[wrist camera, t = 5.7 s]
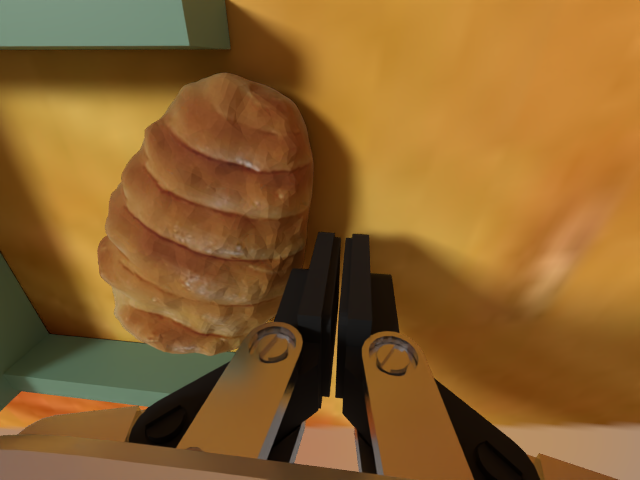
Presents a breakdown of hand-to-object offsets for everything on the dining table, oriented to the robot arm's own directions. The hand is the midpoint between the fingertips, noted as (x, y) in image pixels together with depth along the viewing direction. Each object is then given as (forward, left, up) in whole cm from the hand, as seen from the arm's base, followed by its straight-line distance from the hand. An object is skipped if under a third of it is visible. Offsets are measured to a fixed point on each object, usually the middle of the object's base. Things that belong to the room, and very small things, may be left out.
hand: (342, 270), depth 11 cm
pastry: (+5, -1, -2) cm, 5 cm away
